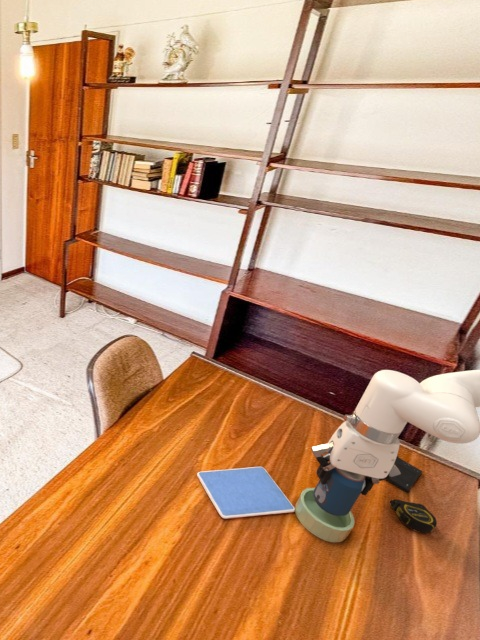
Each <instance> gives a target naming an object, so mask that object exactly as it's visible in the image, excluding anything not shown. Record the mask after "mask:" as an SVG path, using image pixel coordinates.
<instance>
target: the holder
mask: <svg viewBox="0 0 480 640" xmlns="http://www.w3.org/2000/svg"><path fill="white" fill-rule="evenodd" d="M314 489H315V487H306V488H304V489H303V490H302V491H301V493H300V495H299V497H298V498H297V500H296V503H295V505H294V508H295V511H294V512H295V513H294V514H295V516H296V518H297V520H298V521H299V522H300V524H301V525H302V526H303V527H304V528H305V529H306V530H307V531H308V532H309V533H310V534H312V535H314V536H315V537H316V538H319V539H321V540H323V541H326V542H329V543H336V544H337V543H341V542H343V541H345V540H346V539H347V538H348V536H349V534H350V533H351V531H352V530H353V528H354V526H355V516H354V515H353V512H352V511H351V510H350V512H349V513H348V514H347V515H344V516H333V515H330V514H328V513H326V512H325V511H323V510H322V509H321V508H320V507H319V506H318V505H317V503H316V501H315V498H314V495H313V491H314Z"/></svg>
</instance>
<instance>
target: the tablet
mask: <svg viewBox="0 0 480 640" xmlns="http://www.w3.org/2000/svg"><path fill="white" fill-rule="evenodd" d="M196 476H197V479H198V480H199V482H200V483H201V486H202V487H203V489H204V491H205V493H206V494H207V496H208V498H209V499H210V501H211V503H212V505H213V506H214V508H215V510H216V511H217V513H218V514H219V516H220V518H222V519H223V520H227V519H235V518H236V519H237V518H244V517H245V518H246V517H255V516H265V515H278V514H287V513H294V512H295V505H293V504H292V502H291V501H290V500H289V499H288V497H287V496H286V495H285V494H284V492H283V491H282V489H281V488H280V487H279V485H278V484H277V482H275V481H276V480H274V478H273V477H272V476H271V475H270V474H269V472H268V471H267V470H266V468H264V467H263V466H250V467H240V468H239V467H238V468H228V469H227V468H226V469H217V470H216V469H214V470H205V471H198V472H197V473H196Z"/></svg>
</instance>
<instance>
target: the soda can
mask: <svg viewBox="0 0 480 640" xmlns="http://www.w3.org/2000/svg"><path fill="white" fill-rule="evenodd" d="M330 471H331V475H330V477H329V479H328V481H327V483H326V484H325V485H324V484H321V482H320V479H318V482H317V484H316V486H315V487H314V488H315V489H314V491H313V495H314V498H315V501H316V503H317V505H318V506H319V507H320V508H321V509H322V510H323V511H325V512H326V513H328V514H330V515H333V516H344V515H347V514H348V513H349V512H350V511H351V510H352V508H353V507H354V505H355V504H356V502H357V500H358V499H359V497H360V495H362V494H361V492H362V490H363V489H364V487H365V485H366V482H365V477H366V476H365V475H361V474H357V473H353V472H350V471H346V470H342V469H339V468H336V467H335V468H333V469H332V470H330Z"/></svg>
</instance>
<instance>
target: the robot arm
mask: <svg viewBox="0 0 480 640" xmlns="http://www.w3.org/2000/svg"><path fill="white" fill-rule="evenodd" d="M476 408H480V369H472V370H462V371H455V372H447V373H441V374H436V375H433V376H429V377H427V378H425V379H423V380H422V381H421V382H419V381H418V380H416V379H415V378H414V377H412V376H410V375H408V374H405V373H402V372H400V371H397V370H392V369H381V370H379V371H376V372H375V373H374V374H373V375H372V377H371V378H370V381H369V383H368V385H367V386H366V389H365V391H364V392H363V393H362V396H361V398H360V400H359V402H358V404H357V405H356V406H355V408H354V410H353V411H352V412H351V414H344V416H343V420H344V421H343V422H342V423H341V424H340V425H339V426H338V427H337V428H336V430H335V431H334V432H333V434H332V436H331V437H330V438H329V440H328V442H327V443H324V444H319V445H315V446H314V445H313V446H311V447H310V450H311V452H312V454H313V456H314V457H315V459H316V461H317V462H318V464H319V466H318V468H317V470H316V476H317V478H318V480H320V482H321V484H324V485H325V484H326V483H327V481H328V479H329V477H330V475H331V471H330V470H332V469H333V468H335V467H336V468H339V469H342V470H346V471H350V472H353V473H357V474H361V475H365V476H366V477H365V482H366V485H365V487H364V489H363V490H362V492H361V494H360V495H362V496H367V494H368V493H369V491H371V489H372V488H373V486H374V485H379V484H380V482H382V481H387V480H386V479H389V478H390V477H393V476H397V475H400V474H401V473H400V471H399V469H398V468H397V467H396V466H395V465H394V462H395V460H396V457H397V455H398V454H399V450H400V445H401V440H400V439H399V436H400V435H401V433H402V432H403V431H404V429H405V427H406V425H407V424H408V423H409V424H411V425H413V426H414V427H416V428H418V429H420V430H422V431H424V432H425V433H427V434H428V435H430V436H433V437H435V438H437V439H439V440H442V441H444V442H448V443H453V444H461V445H463V444H469V443H472V442H475V440H477V439H478V438H479V436H480V418H479V414H478V412H477V411H478V410H477V409H476ZM323 454H325V455H323Z"/></svg>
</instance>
